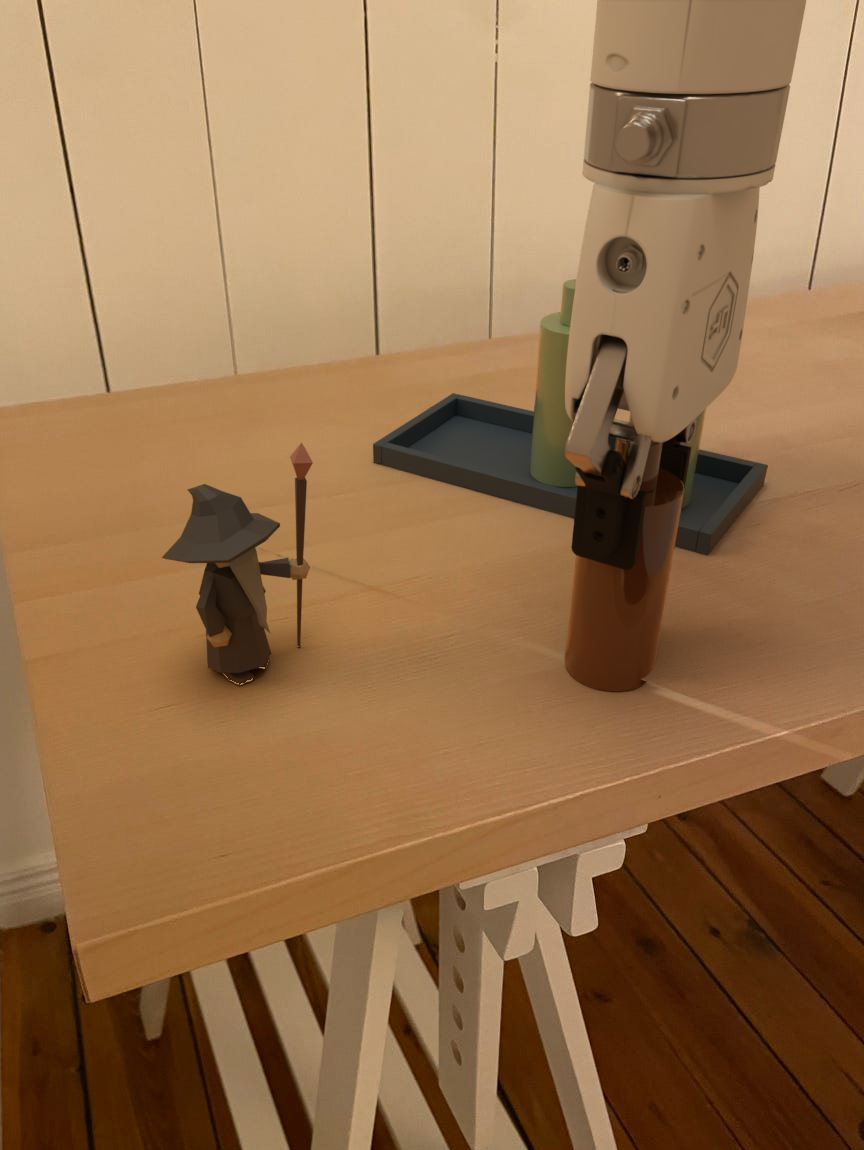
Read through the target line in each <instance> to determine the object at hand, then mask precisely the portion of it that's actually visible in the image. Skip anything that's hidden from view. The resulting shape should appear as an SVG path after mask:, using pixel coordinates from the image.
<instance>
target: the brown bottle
mask: <svg viewBox="0 0 864 1150" xmlns="http://www.w3.org/2000/svg"><path fill="white" fill-rule="evenodd" d="M630 444H631V441H630V440H626V439H622V438H617V437H616V442H615V450H614V451H618V452H620V454H621V456H622V458H623V460H624V461H625V463H626V462H627V457H628V453H629V448H630ZM662 449H663V443H659V442H654V441H652V439H651V444H650V448H649V452H648V457H647V461H646V465H645V469H644V474H643V478H642V482H641V486H640V490H641V491H645V492H648V493H647V500H646V506H645V513H644V520H643V527H642V534H641V541H640V547H639V554H638V561H637V563H636V564H635V565H634V566H633V567H632V568H631V569H630V570H624V569H620V568H617V567H614V566H610V565H607V564H604V563H600V562H597V561H593V560H590V559H587V558H583V557H580V556H577V555H575V559H574V570H573V578H572V589H571V597H570V606H569V615H568V625H567V635H566V636H567V637H566V644H565V645H566V646H565V655H564V665H565V667H566V670H567V672H568V673H569V675H570V676H571V677H573V678H574V679H575V680H576V681H577V682H579V683H580V684H583V685H585V686H587V687H589V688H592V689H596V690H600V691H605V692H627V691H632V690H635V689H638V688H640V687H643V686H644V685H645V684H647V683H648V681H647V680H644V678H646V677H648V676H649V675H650V674H651V673H652V671H653V670H654V668H655V665H656V660H657V655H658V649H659V642H660V636H661V631H662V625H663V619H664V615H665V614H664V613H665V608H666V601H667V595H668V589H669V583H670V577H671V572H672V566H673V560H674V555H675V550H676V549H675V548H676V547H675V543H676V537H677V531H678V525H679V519H680V513H681V507H682V502H683V496H684V485H683V483H682V481H681V480H680V479H679V478H678V477H677V476H675V475H674V474H672V473H671V472H669V471H666V470H664V469H661V468H660V462H661V455H662Z"/></svg>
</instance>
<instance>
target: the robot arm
mask: <svg viewBox="0 0 864 1150" xmlns="http://www.w3.org/2000/svg"><path fill="white" fill-rule="evenodd" d="M806 4H807V0H597V3H596V12H595V13H596V14H595V24H594V35H593V46H592V57H591V68H590V69H591V70H590V79H589V80H590V82H591V83H590V84H589V90H588V102H587V112H586V113H587V114H586V116H587V117H586V127H585V137H584V149H583V162H582V177H584V178H585V179H586V180H588V181H590V182H592V183H594V184H593V185H592V189H591V190H592V191H591V195H590V200H589V205H588V210H587V216H586V221H585V226H584V232H583V236H582V244H581V249H580V254H579V261H578V267H577V275H576V279H577V280H576V287H575V294H574V301H573V308H572V316H571V324H570V333H569V342H568V351H567V363H566V377H565V408H566V412H567V414H568V416H569V418H570V419H571V420H572V421H573V422H574V423H573V425H572V428H571V431H570V434H569V437H568V439H567V442H566V446H565V457H566V458H567V459H568V460H569V461H570V462H571V463H572V464H573V465H574V466H575V469H576V476H575V483H576V485H578V488H577V498H576V508H575V517H574V519H573V529H572V539H571V551H572V553H573V554H574V555H575V556H576V555H577V556H580V557H583V558H587V559H590V560H593V561H597V562H600V563H604V564H607V565H610V566H614V567H617V568H620V569H624V570H630V569H631V568H632V567H633V566H634V565H635V564H636V563H637V561H638V554H639V547H640V541H641V534H642V527H643V520H644V513H645V506H646V500H647V493H648V492H645V491H641V490H640V486H641V482H642V478H643V474H644V469H645V465H646V461H647V457H648V452H649V448H650V444H651V439H652V441H654V442H659V443H663V449H662V455H661V462H660V468H661V469H664V470H666V471H669V472H671V473H672V474H674V475H675V476H677V477H678V478H679V479H680V480H681V481H682V483H683V485H684V489H685V483H686V477H687V471H688V466H689V460H690V454H691V448H692V447H688V446H684V445H680V442H681V443H686V444H689V443H690V442H691V440H692V438H693V436H694V433H695V429H696V419H697V416H698V415H700V414H701V413H702V412H703V411H704V410H705V409H706V410H707V408H708V407H709V406H710V405H711V404H712V403H713V402H714V401H715V400H717V398H718V397H719V396H720V395H721V394H722V393H723V392H724V391H725V390H726V388H728V386H729V385H730V384H731V382H732V380H733V379H734V377H735V374H736V372H737V368H738V365H739V364H738V363H739V358H740V353H741V346H742V340H743V339H742V338H743V334H744V332H743V331H744V327H745V326H744V324H745V319H746V313H747V312H746V310H747V304H748V297H749V291H750V283H751V276H752V269H753V261H754V254H755V245H756V236H757V228H758V219H759V206H760V205H759V204H760V188H761V187H764V186H766V185H768V184H769V183H771V182H772V181H773V180H774V175H775V171H776V170H775V169H776V163H777V159H778V154H779V149H780V143H781V139H782V133H783V128H784V123H785V116H786V111H787V106H788V101H789V96H790V90H791V85H790V84H791V82H792V79H793V75H794V69H795V64H796V58H797V52H798V48H799V42H800V37H801V32H802V27H803V26H802V25H803V21H804V16H805V10H806ZM618 409H619V410H623V411H627V412H629V416H630V415H631V418H632V421H633V423H630V422H629V421H625V420H622V419H616V415H617V411H618ZM609 436H613V437H617V438H622V439H626V440H630V441H631V444H630V448H629V453H628V457H627V462H626V463H625V461H624V460H623V458H622V456H621V454H620V452H618V451H613V450H611V449H610V447H611V446H610V445H609V443H608V437H609Z"/></svg>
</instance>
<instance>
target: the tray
mask: <svg viewBox="0 0 864 1150" xmlns="http://www.w3.org/2000/svg"><path fill="white" fill-rule="evenodd" d="M533 418H534V410H530V409H525V408H521V407H516V406H512V405H507V404H503V403H499V402H494V401H490V400H486V399H481V398H477V397H473V396H467V395H464V394H458V393H455V392H453V393H451V394H449V395H447V396H446V397H445V398H443V399H441V400H440V401H438V402H437V403H435V404H434V405H432V406H431V407H429V408H427V409H425V410H423V411H422V412H421V413H419V414H418V415H416V416H414V417H413V418H411V419H410V420H408V421H407V422H405V423H403V424H402V425H400V426H399V427H397V428H396V429H394V430H393V431H391V432H389V433H387V434H386V435H385V436H383V437H382V438H380V439H378V440H377V441H375V442H374V443H372V461H373V464H376V465H379V466H383V467H387V468H390V469H394V470H398V471H401V472H404V473H408V474H412V475H415V476H419V477H422V478H425V479H429V480H433V481H437V482H440V483H444V484H446V485H447V484H448V485H451V486H455V487H458V488H462V489H466V490H469V491H472V492H476V493H479V494H484V495H487V496H490V497H495V498H498V499H501V500H505V501H509V502H512V503H516V504H520V505H523V506H526V507H530V508H534V509H537V510H541V511H545V512H548V513H552V514H555V515H560V516H563V517H565V518H570V519H573V520H574V517H575V508H576V498H577V488H578V487H555V486H550V485H546V484H543V483H541V482H539V481H537V480H535V479H534V478H533V477H532V476H531V474H530V461H531V447H532V433H533ZM615 442H616V437H613V436H609V437H608V443H609V445H610V446H611V447H610V449H611V450H613V451H614V450H615ZM768 467H769V464H766V463H761V462H756V461H752V460H748V459H743V458H739V457H734V456H731V455H726V454H722V453H718V452H713V451H708V450H704V449H701V448H699V454H698V460H697V466H696V471H695V477H694V483H693V488H692V494H691V500H690V503H689V504H688V505H687V506H686V507H684V508H683V509H681V513H680V519H679V525H678V531H677V537H676V543H675V548H678V549H682V550H685V551H688V552H691V553H692V552H693V553H696V554H701V555H704V556H709V555H710V553H711V552H712V551H713V550H714V548H715V547H716V545H717V544H718V543H719V542H721V541H720V540H722V538H723V537H724V536H725V534H726V533H727V532H728V531H729V529H730V528H731V527H732V526H733V524H734V523H735V522H736V520H737V519H738V518H739V517H740V515H741V514H742V513H743V512H744V511H745V509H746V508H747V507H748V505H750V503H751V502H752V500H753V499H754V498H755V497H756V495H757V494H758V493H759V492H760V491H761V489H762V488H763V487H764V484H765V481H766V477H767V472H768Z"/></svg>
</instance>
